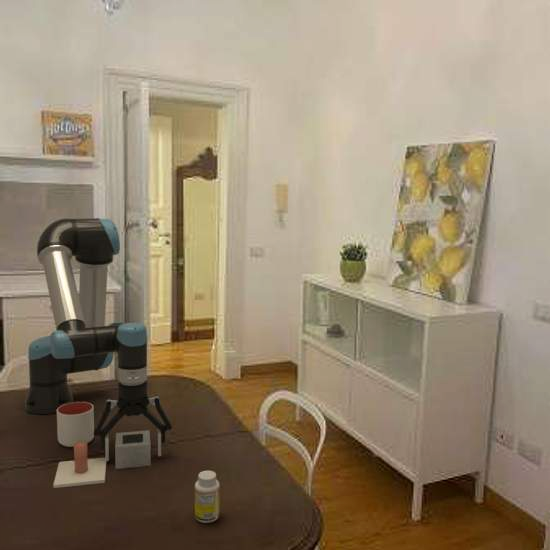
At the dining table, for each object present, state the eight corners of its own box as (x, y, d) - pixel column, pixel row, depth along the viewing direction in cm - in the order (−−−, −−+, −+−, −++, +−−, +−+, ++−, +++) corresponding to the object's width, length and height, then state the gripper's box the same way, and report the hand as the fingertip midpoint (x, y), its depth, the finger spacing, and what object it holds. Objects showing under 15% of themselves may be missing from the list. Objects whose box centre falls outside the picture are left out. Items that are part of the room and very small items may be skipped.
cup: (82, 450, 154) (81, 416, 153) (50, 446, 156) (49, 413, 155) (100, 435, 164) (99, 403, 162) (70, 431, 166) (69, 400, 164)
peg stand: (59, 464, 146) (58, 436, 145) (106, 460, 149) (105, 432, 148) (53, 488, 134) (52, 457, 133) (104, 482, 138) (104, 452, 136)
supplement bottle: (207, 507, 128) (208, 465, 127) (224, 516, 125) (225, 474, 123) (189, 517, 124) (189, 474, 122) (206, 527, 120) (206, 483, 119)
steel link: (116, 453, 153) (116, 433, 152) (149, 450, 155) (149, 430, 154) (115, 469, 144) (115, 447, 144) (150, 465, 147) (150, 444, 146)
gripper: (82, 389, 140) (84, 467, 143) (181, 382, 146) (181, 458, 149) (84, 379, 147) (86, 454, 150) (179, 374, 154) (179, 446, 156)
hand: (133, 456), depth 150 cm, fingers open, 13 cm apart
